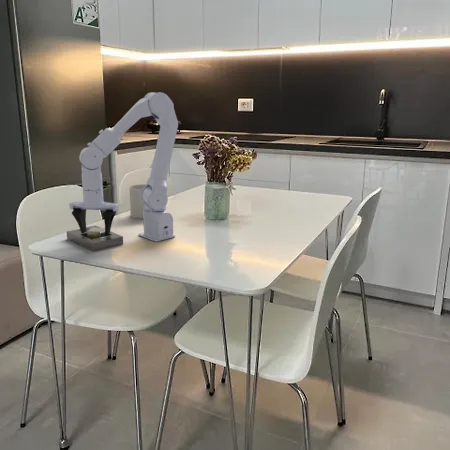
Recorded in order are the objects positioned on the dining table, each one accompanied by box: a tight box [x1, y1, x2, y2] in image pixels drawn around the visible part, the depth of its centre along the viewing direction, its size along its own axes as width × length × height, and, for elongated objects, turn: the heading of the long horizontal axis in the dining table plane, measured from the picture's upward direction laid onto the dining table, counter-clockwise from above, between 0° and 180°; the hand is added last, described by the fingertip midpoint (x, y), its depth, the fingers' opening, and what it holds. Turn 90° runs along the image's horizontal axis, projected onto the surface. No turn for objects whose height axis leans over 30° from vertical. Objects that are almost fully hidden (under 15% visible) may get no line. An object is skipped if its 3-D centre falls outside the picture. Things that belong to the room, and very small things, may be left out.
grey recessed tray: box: [66, 225, 124, 252], centre depth 139 cm, size 16×10×2 cm, turn 45°
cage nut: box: [87, 227, 105, 240], centre depth 139 cm, size 4×5×4 cm
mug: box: [129, 184, 146, 219], centre depth 167 cm, size 12×8×11 cm
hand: (95, 232), depth 138 cm, fingers open, 7 cm apart
